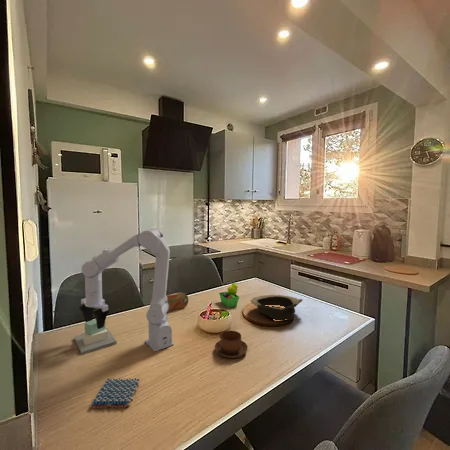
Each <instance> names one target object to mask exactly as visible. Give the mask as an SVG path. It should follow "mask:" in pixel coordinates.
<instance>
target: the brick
mask: <svg viewBox="0 0 450 450" xmlns="http://www.w3.org/2000/svg"><path fill="white" fill-rule="evenodd" d="M106 328H107V327H106V322H105V323H104V327H102V328H100V329H98V328H97V322H96V318H94V319H93V320H91V321H88V322H84V331H85V333H86V334H88V335H90V336H92V335H94V334H96V333H98V332H101V331H103V330H105V329H106Z"/></svg>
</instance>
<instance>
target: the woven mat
mask: <svg viewBox="0 0 450 450" xmlns="http://www.w3.org/2000/svg"><path fill="white" fill-rule="evenodd" d="M138 387H140V379H139V378H132V379H131V378H116V379H115V378H111V379H110V378H107V380H105V381H104V384H103V385H102V386H101V389H100V390H99V392H98V393H97V395H96V397H95V398H94V399H93V401H92V404H91V405H90V407H91V408H92V409H94V408H95V409H97V408H98V409H99V408H101V409H103V408H130V407H131V406H132V401H133V400H134V399H135V398H134V396H135V395H137V391H138Z"/></svg>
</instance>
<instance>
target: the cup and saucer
mask: <svg viewBox="0 0 450 450" xmlns="http://www.w3.org/2000/svg"><path fill="white" fill-rule="evenodd" d="M219 338H220V340H219V341H217V342H215V345H214V350H215V352H216V353H217V354H218V355H220V356H222V357H224V358H228V359H236V358H239V357H242V356H244V355H245V354H246V353H247V351H248V348H249V347H248V344H247V343H246V342H245V341H243V340H242V334H241V333H240V332H238V331H235V330H227V331H226V330H225V331H224V332H220V333H219Z"/></svg>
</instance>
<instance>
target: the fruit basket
mask: <svg viewBox="0 0 450 450" xmlns="http://www.w3.org/2000/svg"><path fill="white" fill-rule="evenodd" d="M238 288H239V287H238V284H237V283H236V282H232V283H231V284H230V285H228V287H227V291H226V290H225V291H222V292H218V295H219V297H220V301H221V303H222V304H223V305H224V306H226V307H227V308H231V307H237V306H238V302H239V299H240V296H239V295H237V293H238Z"/></svg>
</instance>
